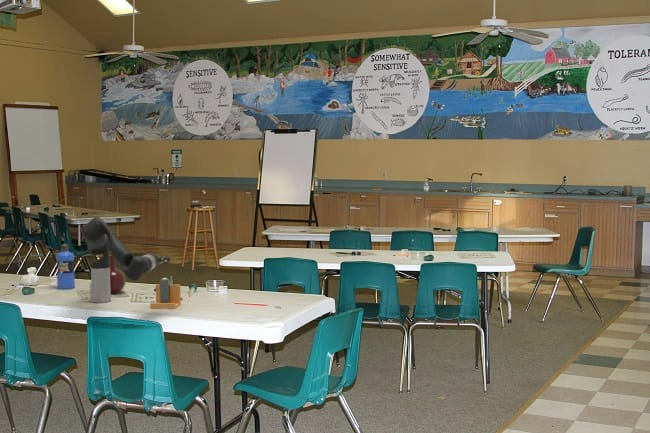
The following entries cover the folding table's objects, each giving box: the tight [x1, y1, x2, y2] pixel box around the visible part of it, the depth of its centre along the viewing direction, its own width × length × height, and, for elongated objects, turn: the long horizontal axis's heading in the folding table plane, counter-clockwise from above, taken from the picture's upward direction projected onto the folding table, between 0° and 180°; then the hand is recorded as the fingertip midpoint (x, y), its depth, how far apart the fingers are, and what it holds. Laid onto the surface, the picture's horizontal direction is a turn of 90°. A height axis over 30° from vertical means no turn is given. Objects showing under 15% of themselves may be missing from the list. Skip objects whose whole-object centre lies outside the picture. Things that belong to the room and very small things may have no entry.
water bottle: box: [55, 243, 76, 291], centre depth 450 cm, size 9×9×25 cm
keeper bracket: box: [149, 284, 182, 310], centre depth 396 cm, size 12×11×10 cm
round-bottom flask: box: [109, 255, 127, 294], centre depth 434 cm, size 13×13×20 cm
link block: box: [159, 277, 171, 303], centre depth 395 cm, size 4×4×13 cm
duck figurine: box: [20, 266, 40, 286], centre depth 464 cm, size 12×8×11 cm
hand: (158, 257), depth 387 cm, fingers open, 8 cm apart
